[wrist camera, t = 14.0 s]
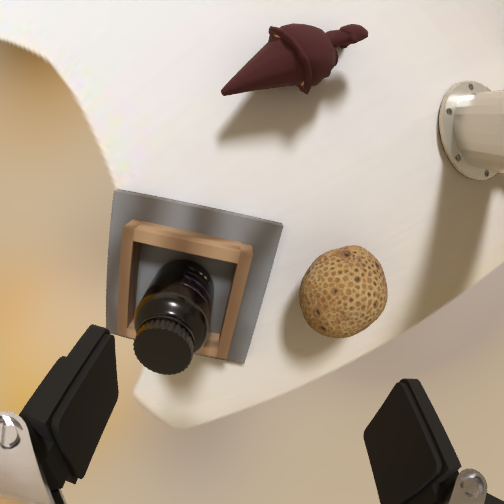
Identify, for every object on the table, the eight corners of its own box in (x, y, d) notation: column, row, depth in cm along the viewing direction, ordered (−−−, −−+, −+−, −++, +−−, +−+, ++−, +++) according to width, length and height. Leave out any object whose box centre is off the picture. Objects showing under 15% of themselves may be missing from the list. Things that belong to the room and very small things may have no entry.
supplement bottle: (183, 323, 36) (162, 395, 24) (143, 280, 34) (103, 343, 22) (228, 291, 34) (222, 361, 23) (187, 244, 32) (158, 299, 21)
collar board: (281, 223, 33) (286, 234, 29) (244, 357, 39) (244, 379, 35) (118, 189, 31) (102, 196, 27) (109, 327, 37) (97, 345, 33)
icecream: (250, 132, 24) (390, 65, 23) (204, 55, 20) (358, -5, 19) (235, 123, 30) (353, 65, 29) (198, 63, 26) (324, 8, 25)
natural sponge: (326, 216, 33) (357, 246, 24) (382, 260, 35) (422, 299, 25) (276, 281, 35) (287, 330, 26) (334, 317, 37) (358, 369, 28)
